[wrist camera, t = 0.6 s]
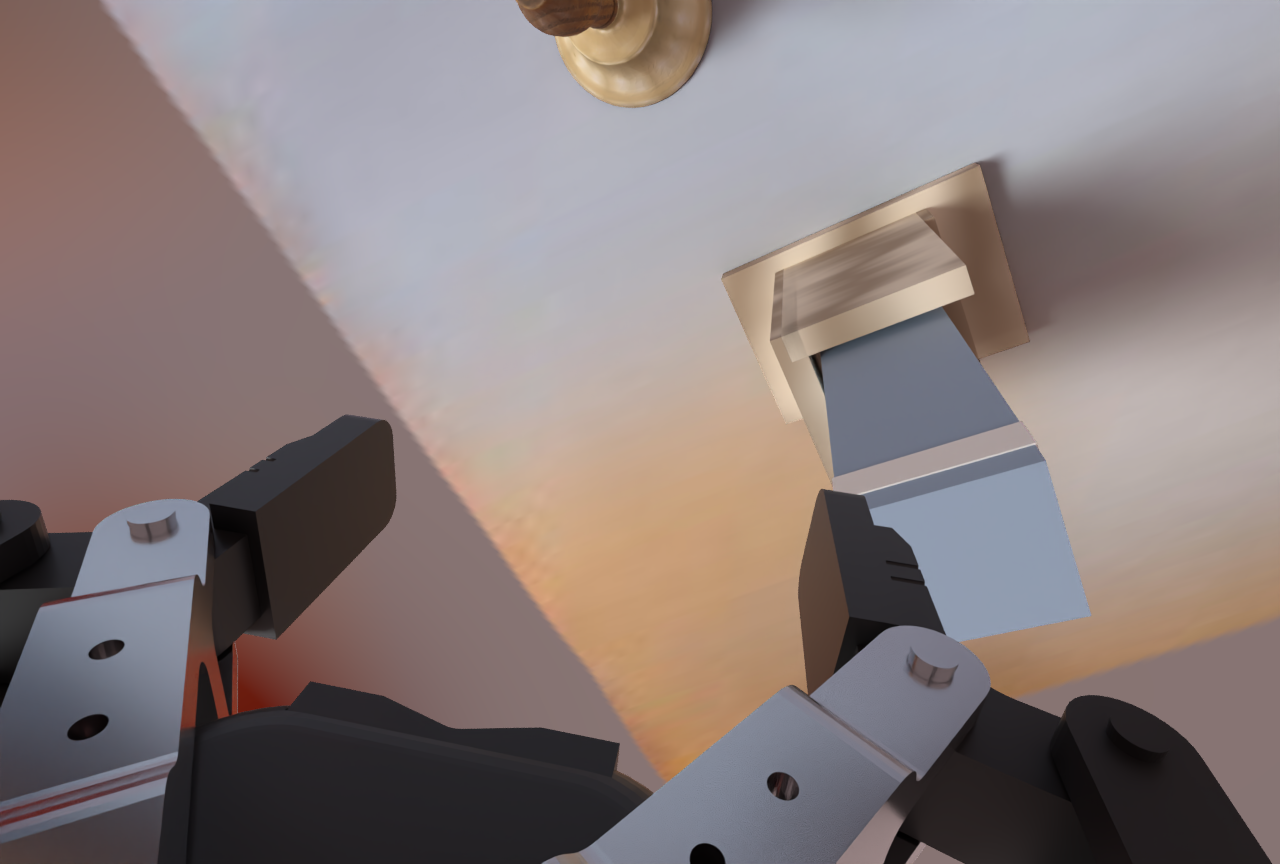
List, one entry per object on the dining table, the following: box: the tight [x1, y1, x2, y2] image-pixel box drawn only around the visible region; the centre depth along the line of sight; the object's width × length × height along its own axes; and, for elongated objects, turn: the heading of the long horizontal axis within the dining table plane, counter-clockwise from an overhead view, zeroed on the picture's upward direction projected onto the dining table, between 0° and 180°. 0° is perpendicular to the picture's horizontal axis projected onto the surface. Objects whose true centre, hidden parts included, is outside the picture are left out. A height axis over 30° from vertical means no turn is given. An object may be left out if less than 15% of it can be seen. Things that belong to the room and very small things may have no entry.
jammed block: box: [820, 306, 1091, 642], centre depth 24 cm, size 5×5×14 cm
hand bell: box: [516, 0, 712, 108], centre depth 27 cm, size 8×8×16 cm
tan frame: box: [721, 163, 1030, 486], centre depth 33 cm, size 14×10×13 cm
